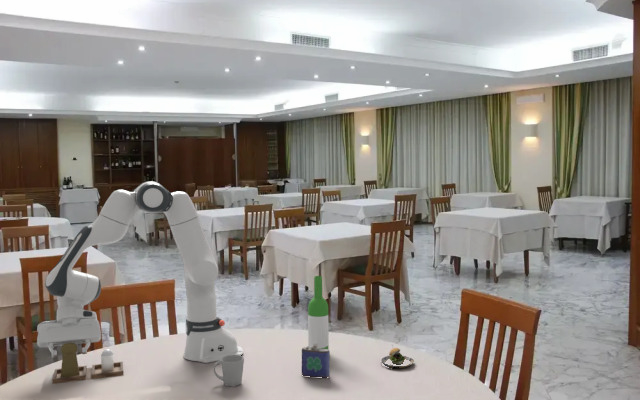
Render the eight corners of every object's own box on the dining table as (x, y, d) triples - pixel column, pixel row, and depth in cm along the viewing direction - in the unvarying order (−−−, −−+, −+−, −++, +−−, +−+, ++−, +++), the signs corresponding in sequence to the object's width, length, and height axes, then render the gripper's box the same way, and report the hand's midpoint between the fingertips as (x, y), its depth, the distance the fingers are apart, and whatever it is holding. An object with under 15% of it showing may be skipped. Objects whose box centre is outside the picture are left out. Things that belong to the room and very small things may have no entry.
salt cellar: (113, 368, 206) (113, 347, 205) (113, 372, 202) (113, 350, 202) (101, 370, 205) (101, 348, 204) (101, 373, 201) (100, 351, 200)
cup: (244, 387, 192) (243, 361, 192) (213, 388, 191) (212, 363, 191) (244, 378, 200) (244, 354, 199) (214, 380, 199) (214, 355, 198)
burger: (391, 372, 206) (391, 352, 205) (375, 362, 217) (375, 342, 216) (420, 367, 211) (420, 347, 210) (403, 358, 221) (403, 338, 221)
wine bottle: (332, 352, 227) (332, 275, 225) (321, 358, 220) (321, 279, 218) (315, 349, 231) (315, 273, 229) (304, 355, 224) (303, 277, 222)
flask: (330, 376, 202) (330, 343, 201) (328, 379, 199) (327, 346, 198) (302, 373, 205) (302, 341, 204) (300, 377, 202) (299, 344, 201)
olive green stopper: (72, 379, 196) (71, 347, 195) (56, 378, 197) (55, 346, 196) (83, 372, 202) (82, 341, 201) (67, 371, 203) (66, 340, 202)
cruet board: (122, 368, 211) (122, 360, 211) (123, 379, 200) (123, 371, 199) (55, 375, 203) (55, 368, 203) (52, 388, 192) (52, 380, 192)
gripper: (36, 317, 201) (34, 354, 193) (100, 311, 208) (100, 347, 199) (38, 326, 206) (36, 363, 197) (100, 321, 212) (101, 355, 204)
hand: (69, 354), depth 198 cm, fingers open, 8 cm apart
